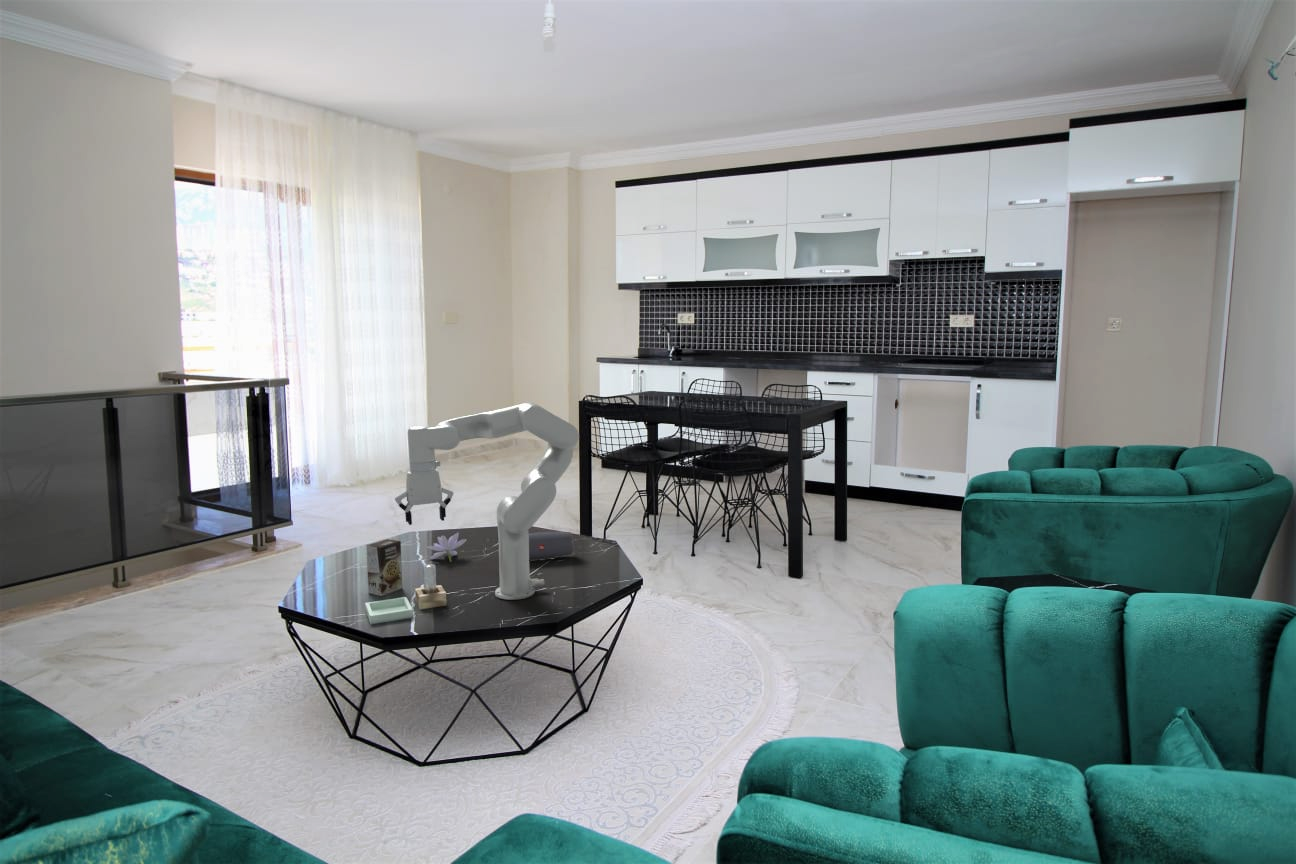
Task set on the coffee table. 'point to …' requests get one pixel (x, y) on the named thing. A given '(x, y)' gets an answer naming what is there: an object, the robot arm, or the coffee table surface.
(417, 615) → the coffee table surface
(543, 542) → the bluetooth speaker
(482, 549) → the coffee table surface
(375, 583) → the brown cookie box
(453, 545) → the water lily
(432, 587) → the pin
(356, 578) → the coffee table surface
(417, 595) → the socket block
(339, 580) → the coffee table surface
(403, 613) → the tray
